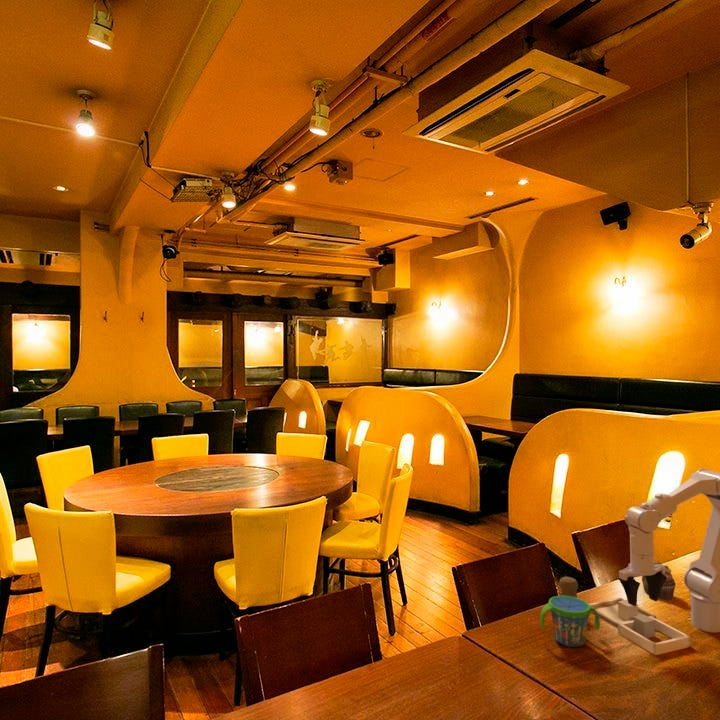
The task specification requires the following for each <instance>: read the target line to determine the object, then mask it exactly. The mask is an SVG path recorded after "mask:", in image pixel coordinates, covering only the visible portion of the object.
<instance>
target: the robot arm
mask: <svg viewBox="0 0 720 720" xmlns="http://www.w3.org/2000/svg"><path fill="white" fill-rule="evenodd" d="M700 494H702V495H703V496H705V497H706V498H707V499H708V501H709V502H710V503H711V505H712V509H711V513H710V516H709V520H708V523H707V527H706V530H705V535H704V538H703V543H702V547H701V550H700V555H699V558H698V559H696V560H692V561H691V562H690V564H689V567H688V569H687V570H686V571H685V573H684V575H683V576H684V577H683V582H684V585H685V587H686V588H687V589H688V593H690V613H691V615H690V618H691V625H692V626H693V627H694V628H695V629H698V630H700V631H703V632H707V633H720V472H717V471H712V470H709V469H706V468H699V469H698V470H697V471H695V472H693V473H691V474H690V478H689V479H687V480H686V481H685V482H684V483H682V484H680V485H679V486H677V487H676V488H675V489H673V490H672V491H671V492H669V493H668V494H666V493H656V494H655V495H654V497H652V498H651V499H649V500H647V501H646V502H643V503H641V505H639V506H631V507H630V508H629V509H627V511H626V513H625V515H624V516H623V517H624V518H623V519H624V521H625V523H626V525H627V526H628V531H629V552H630V553H629V554H630V555H629V556H630V558H629V560H630V563H628V566H627V567H626V568H623V569H621V570H619V571H618V577H617V578H618V581H619V582H620V584H621V586H622V588H623V589H624V593H625V596H626V600H628V603H629V604H631V605H633V606H636V604H637V605H638V591H639V588H640V586H641V582H639V581H636V579H635V578H639V577H642V576H646V579H647V583H648V593H649V594H648V598H649V599H650V600H651V601H654V602H658V600H659V598H658V597H659V594H660V590H661V588H662V586H663V584H664V582H665V581H666V580H667V578H666V576H665V575H663V574H662V573H665V566H666V565H664V564H662V563H661V564H662V565H661V564H654V563H655V554H654V551H655V550H654V532H655V531H656V530H657V529H658V527H659V524H660V523H662V522H661V521H663V520H664V519H667V518H668V517H670V516H671V515H672V514H674V513H676V512H677V509H678V506H679V505H681V504H683V503H684V502H686V501H688V500H691V499H692V498H694V497H696V496H699V495H700Z"/></svg>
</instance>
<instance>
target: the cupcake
mask: <svg viewBox="0 0 720 720" xmlns="http://www.w3.org/2000/svg"><path fill="white" fill-rule="evenodd" d="M654 564H661V565H663V564H662V563H661V562H658V561H657V562H654ZM664 566H665V573H662V574H663V575H665V576H666V578H667V580H666V581H665V582H664V584H663V586H662V588H661V590H660V594H659V597H658V599H661V600H663V601H665V602H670V601H672V600H673V599H674V595H675V588H676V585H677V583H676V582H675V579H674V577H673V574H672V570H671V568H669V566H667V565H664ZM641 582H642V586H643V587H642V588H643V591H644V593H645V594H646V595H649V593H648V583H647V579H646V576H641Z"/></svg>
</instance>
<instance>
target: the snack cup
mask: <svg viewBox="0 0 720 720" xmlns="http://www.w3.org/2000/svg"><path fill="white" fill-rule="evenodd" d="M589 604H590V603H588V602H587V601H586V600H584V599H581V598H578V597H577V598H576V597H571V596H561V595H556V596H552V597H550V598H549V600H548V603H546V604H545V605H544V606H543V607H542V608H541V611H540V613H539V614H540V615H539V624H540V626H541V629H542V630H543V631H545V630H546V629H545V614H546V613H547V612H548V611H550V613H551V622H552V627H553V634H554V639H555V641H556V642H558V643H559V644H561V645H563V646H566V647H570V648H577V647H583V645H584V644H585V642H586V637H587V636H586V635H587V632H588V631H587V630H588V624H589V621H588V620H589V617H590V614H591V612H590V611H591V610H593V611H594V612H595V614H594V616H595V617H594V623H593V626H594V629H596V630H599V629H600V626H601V622H600V617H599V615H598V613H597V611H596V610H595V609H594V608H593V607H592V606H591V605H589Z"/></svg>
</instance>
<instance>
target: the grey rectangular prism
mask: <svg viewBox="0 0 720 720" xmlns="http://www.w3.org/2000/svg"><path fill="white" fill-rule="evenodd" d="M633 621H634V631H635V632H636V633H638V634H640V635H642V636H643V637H645V638H647V639H649V638H654V637H656V629H655V620H653V619H651V618H649V617H648V616H646V615H644V614H643V615H638V616H634V617H633Z"/></svg>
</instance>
